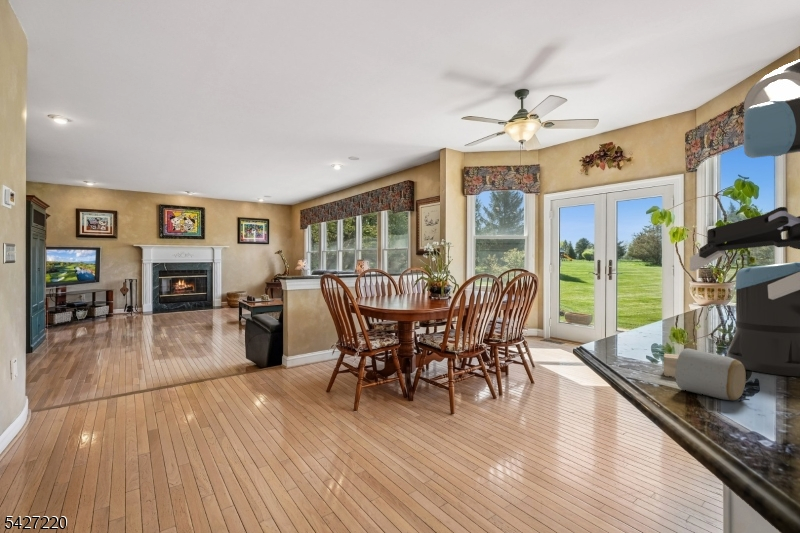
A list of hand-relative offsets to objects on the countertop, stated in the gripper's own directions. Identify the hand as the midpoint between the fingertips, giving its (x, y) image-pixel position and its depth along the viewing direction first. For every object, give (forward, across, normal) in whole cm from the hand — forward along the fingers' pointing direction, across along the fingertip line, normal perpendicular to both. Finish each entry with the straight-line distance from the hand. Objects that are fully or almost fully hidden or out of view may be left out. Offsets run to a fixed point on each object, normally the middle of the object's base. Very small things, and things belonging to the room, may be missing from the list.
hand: (730, 278), depth 66 cm
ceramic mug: (+10, +5, -18) cm, 21 cm away
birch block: (+20, +6, -12) cm, 24 cm away
